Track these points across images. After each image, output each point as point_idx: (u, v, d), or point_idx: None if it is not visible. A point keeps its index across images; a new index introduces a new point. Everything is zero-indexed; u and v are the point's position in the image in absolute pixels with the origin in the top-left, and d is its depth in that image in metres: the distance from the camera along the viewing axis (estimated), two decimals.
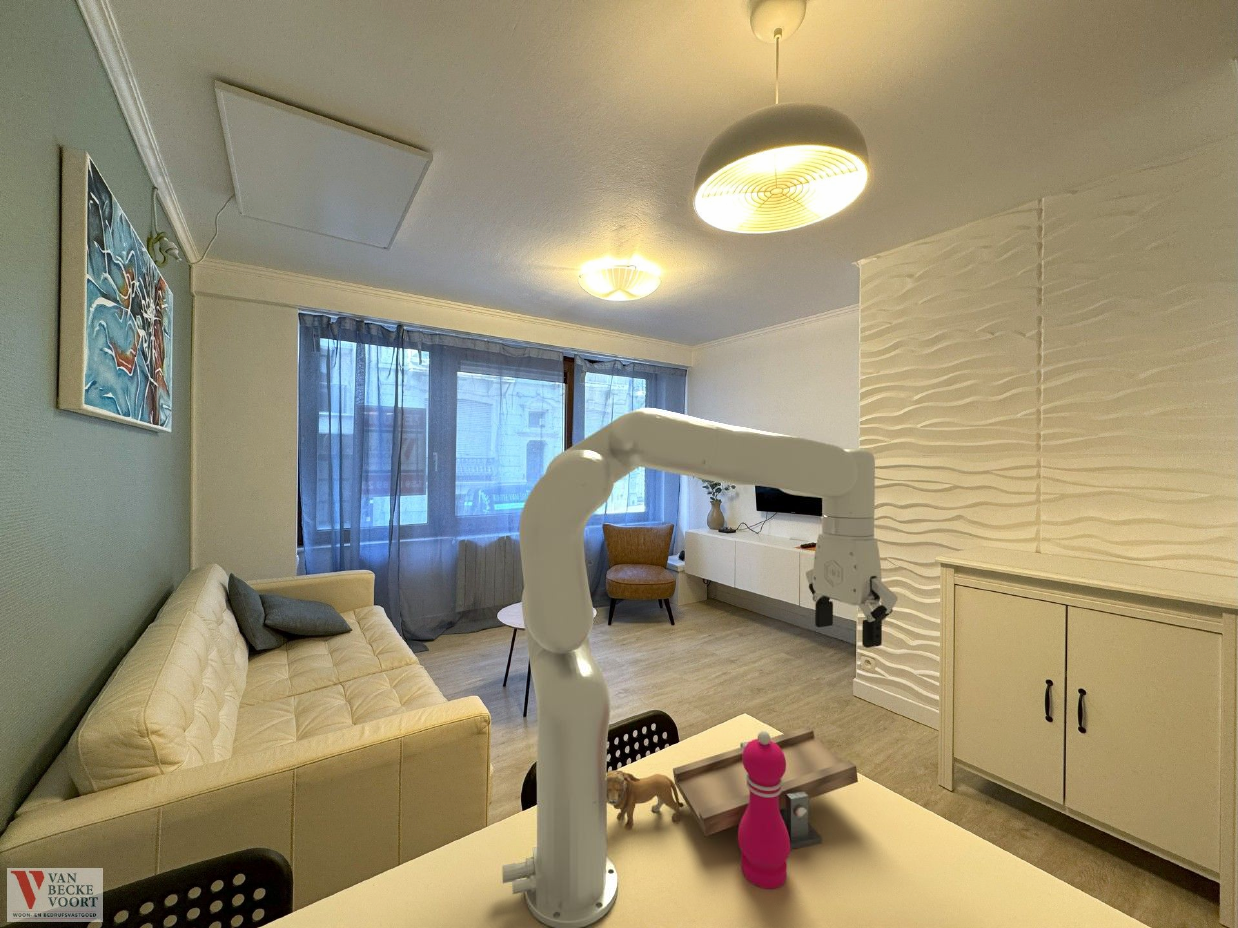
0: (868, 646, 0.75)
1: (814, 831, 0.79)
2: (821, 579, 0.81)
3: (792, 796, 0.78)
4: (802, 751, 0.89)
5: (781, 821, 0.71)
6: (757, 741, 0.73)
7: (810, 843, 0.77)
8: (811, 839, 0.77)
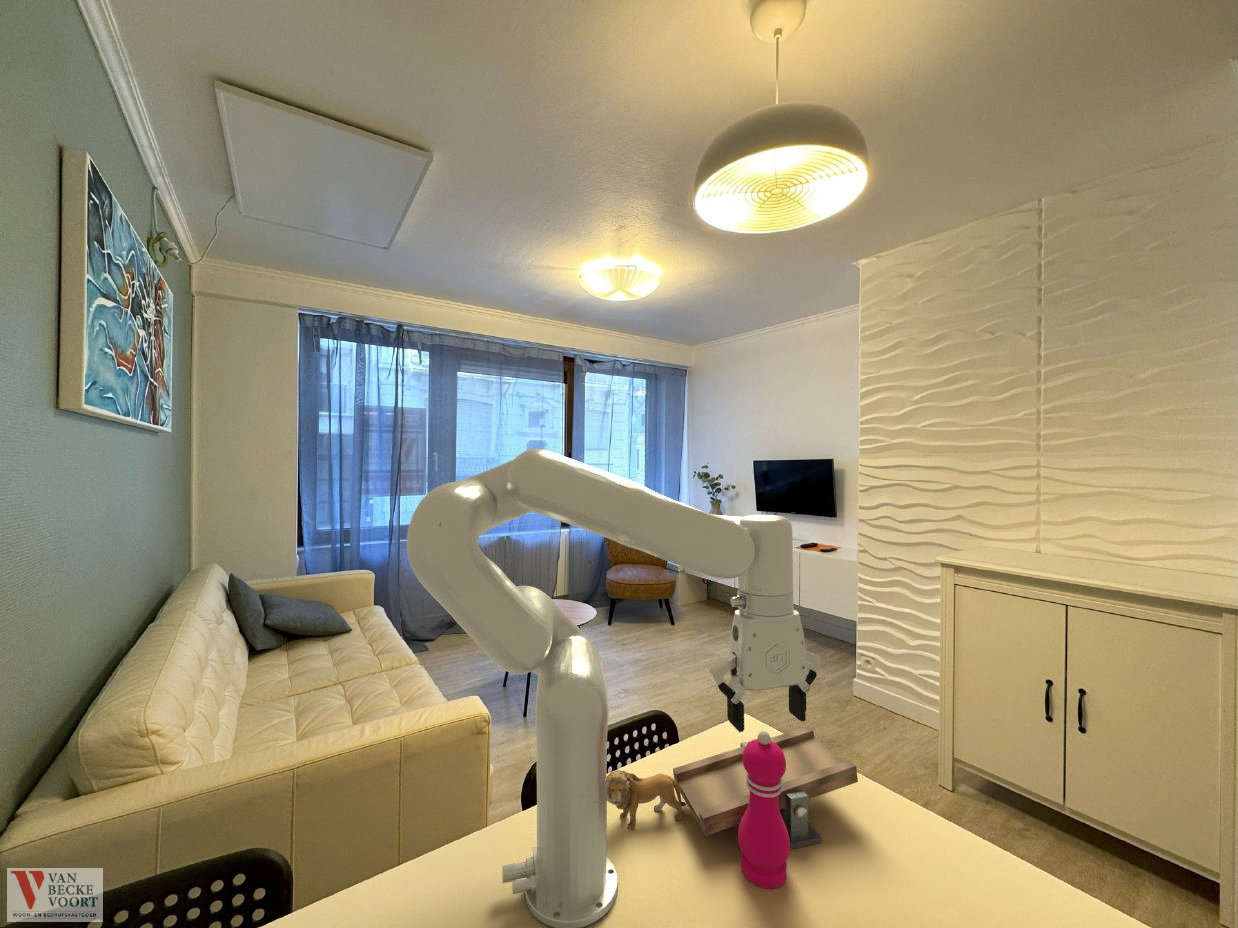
0: None
1: (814, 831, 0.79)
2: (760, 672, 0.69)
3: (792, 796, 0.78)
4: (802, 751, 0.89)
5: (781, 821, 0.71)
6: (757, 741, 0.73)
7: (810, 843, 0.77)
8: (811, 839, 0.77)
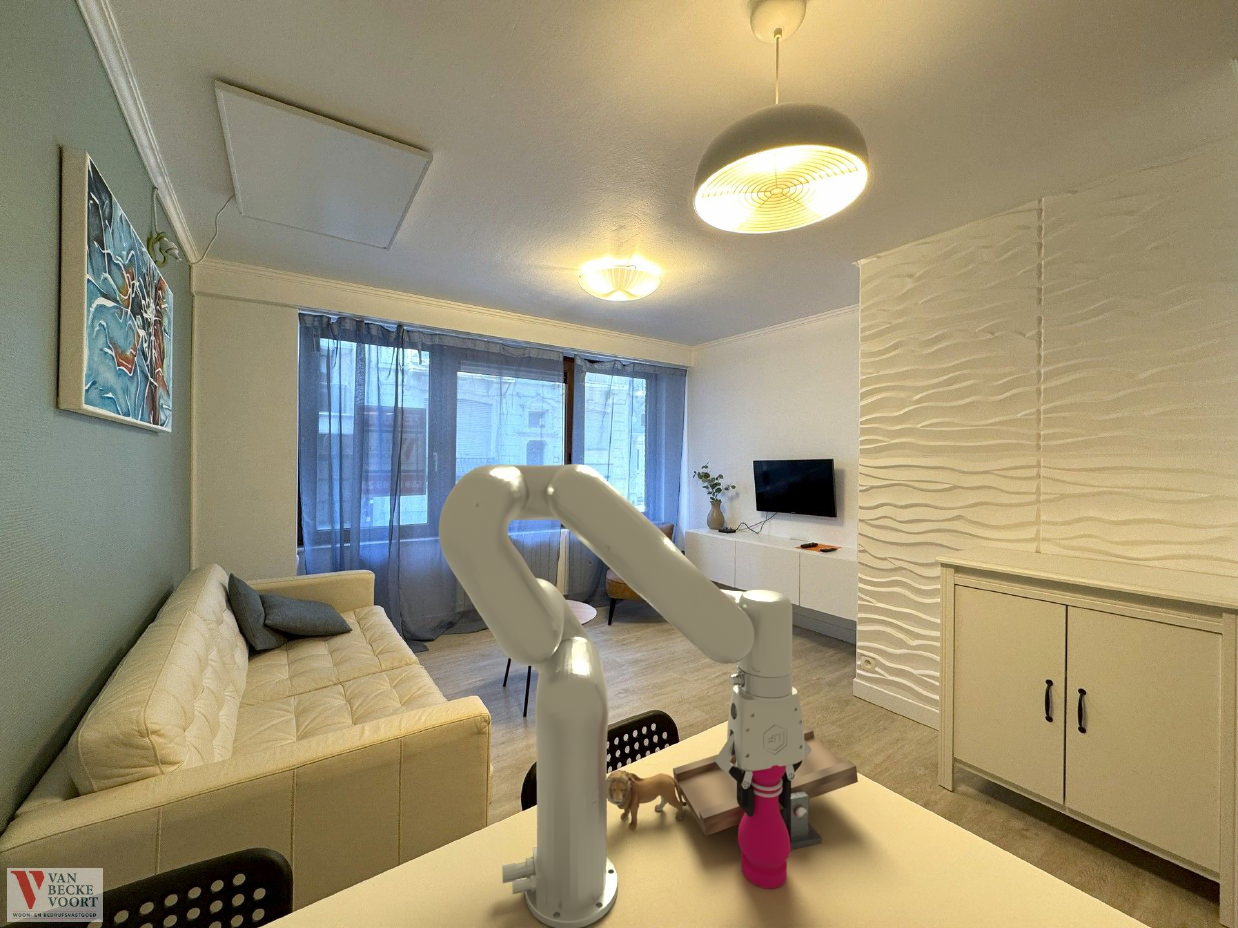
0: None
1: (814, 831, 0.79)
2: (758, 753, 0.69)
3: (792, 796, 0.78)
4: None
5: (781, 821, 0.71)
6: None
7: (810, 843, 0.77)
8: (811, 839, 0.77)
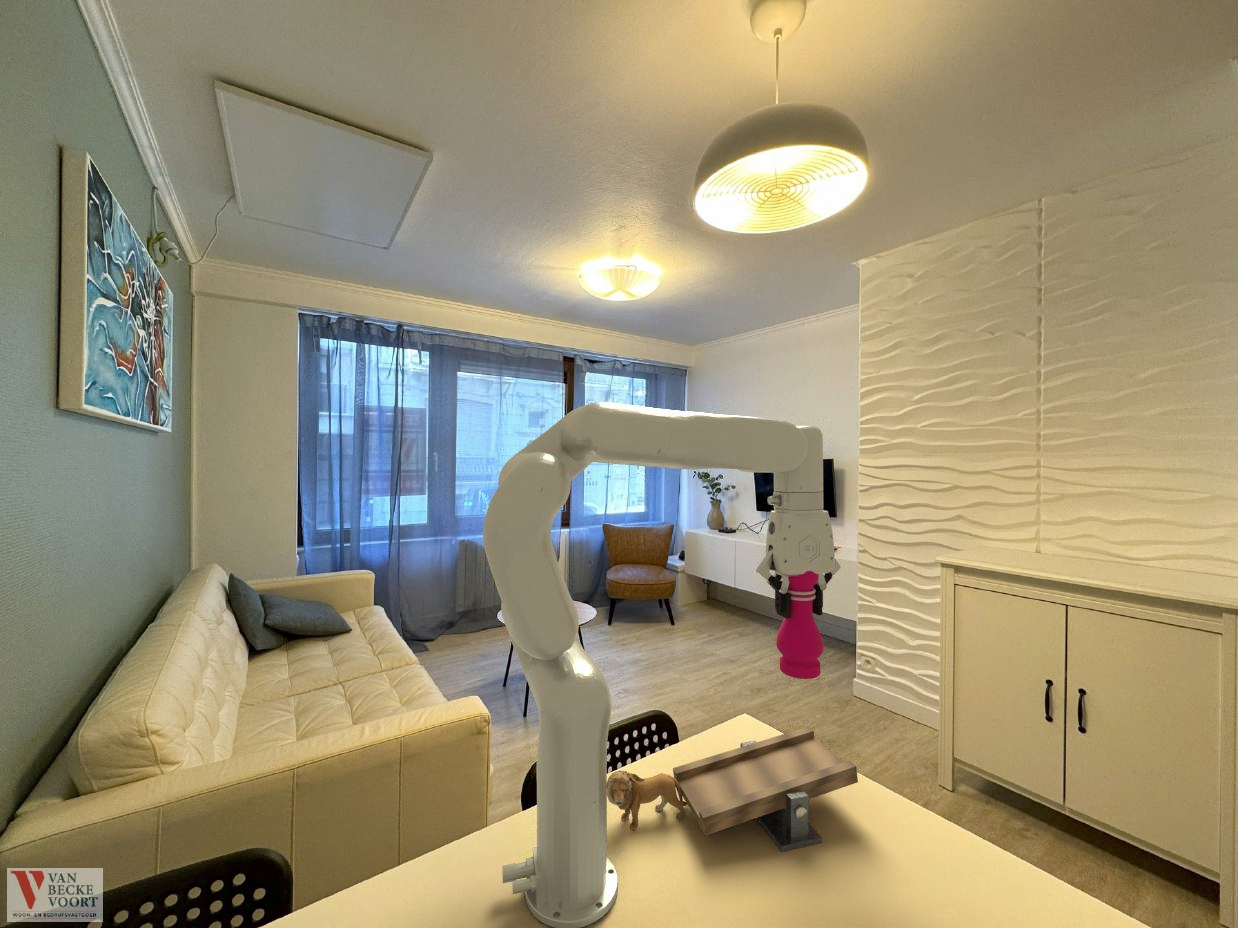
0: None
1: (814, 831, 0.79)
2: (794, 559, 0.79)
3: (792, 796, 0.78)
4: (802, 751, 0.89)
5: (815, 624, 0.81)
6: None
7: (810, 843, 0.77)
8: (811, 839, 0.77)
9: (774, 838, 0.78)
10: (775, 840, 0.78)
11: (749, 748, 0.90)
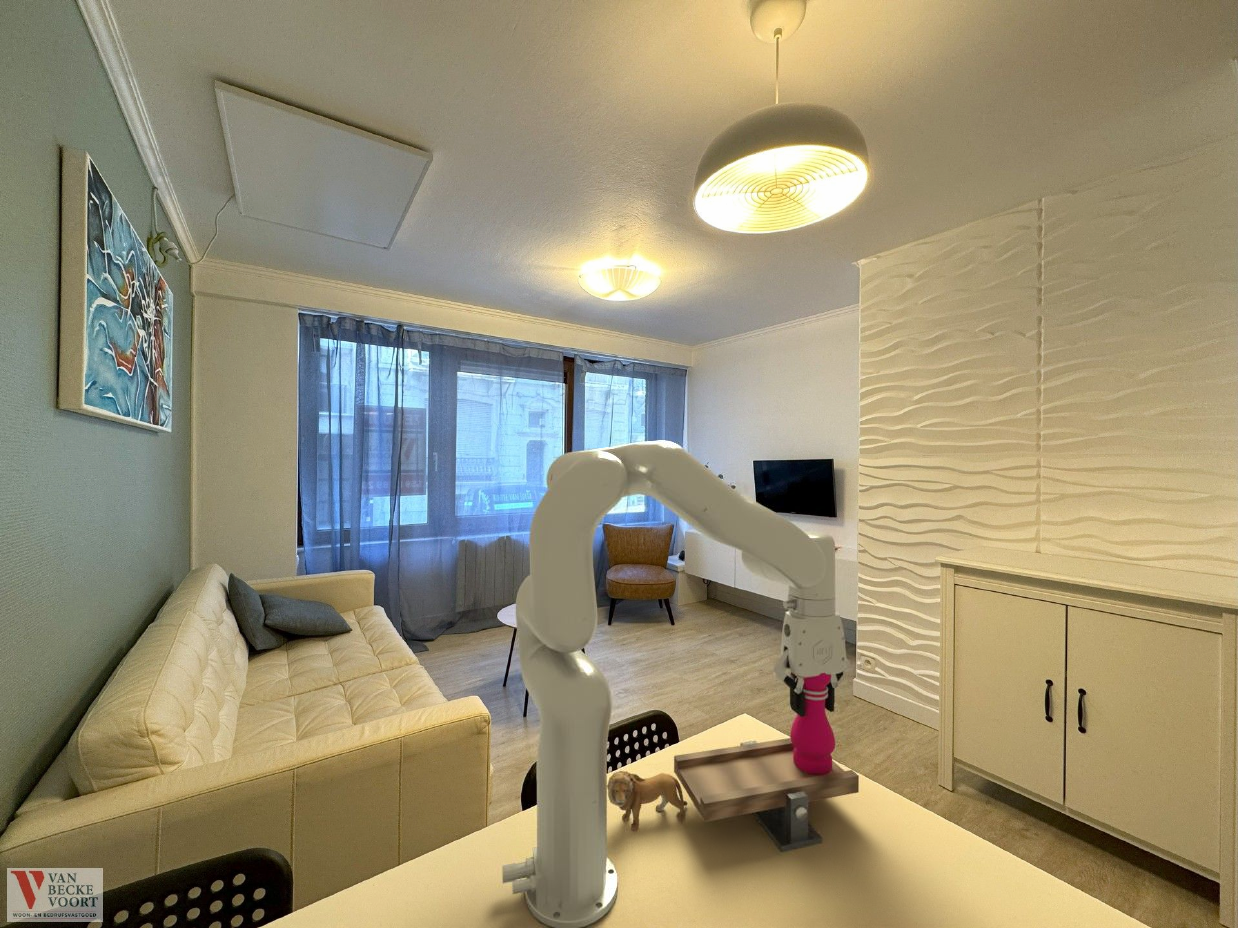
0: None
1: (814, 831, 0.79)
2: (809, 662, 0.84)
3: (792, 796, 0.78)
4: None
5: (827, 721, 0.86)
6: None
7: (810, 843, 0.77)
8: (811, 839, 0.77)
9: (774, 838, 0.78)
10: (775, 840, 0.78)
11: (751, 747, 0.90)
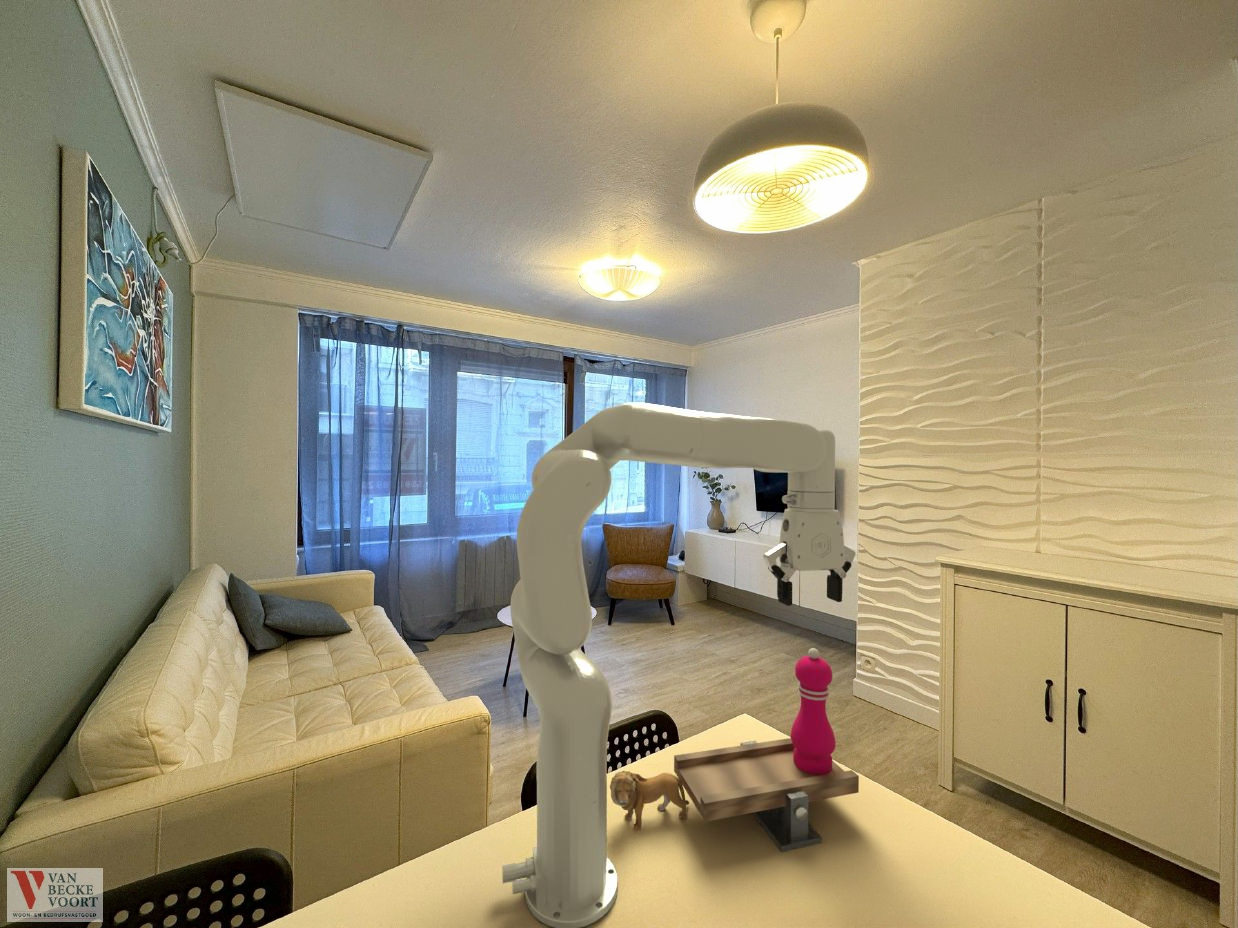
0: None
1: (814, 831, 0.79)
2: (807, 555, 0.83)
3: (792, 796, 0.78)
4: None
5: (828, 721, 0.86)
6: (807, 656, 0.87)
7: (810, 843, 0.77)
8: (811, 839, 0.77)
9: (774, 838, 0.78)
10: (775, 840, 0.78)
11: (751, 747, 0.90)
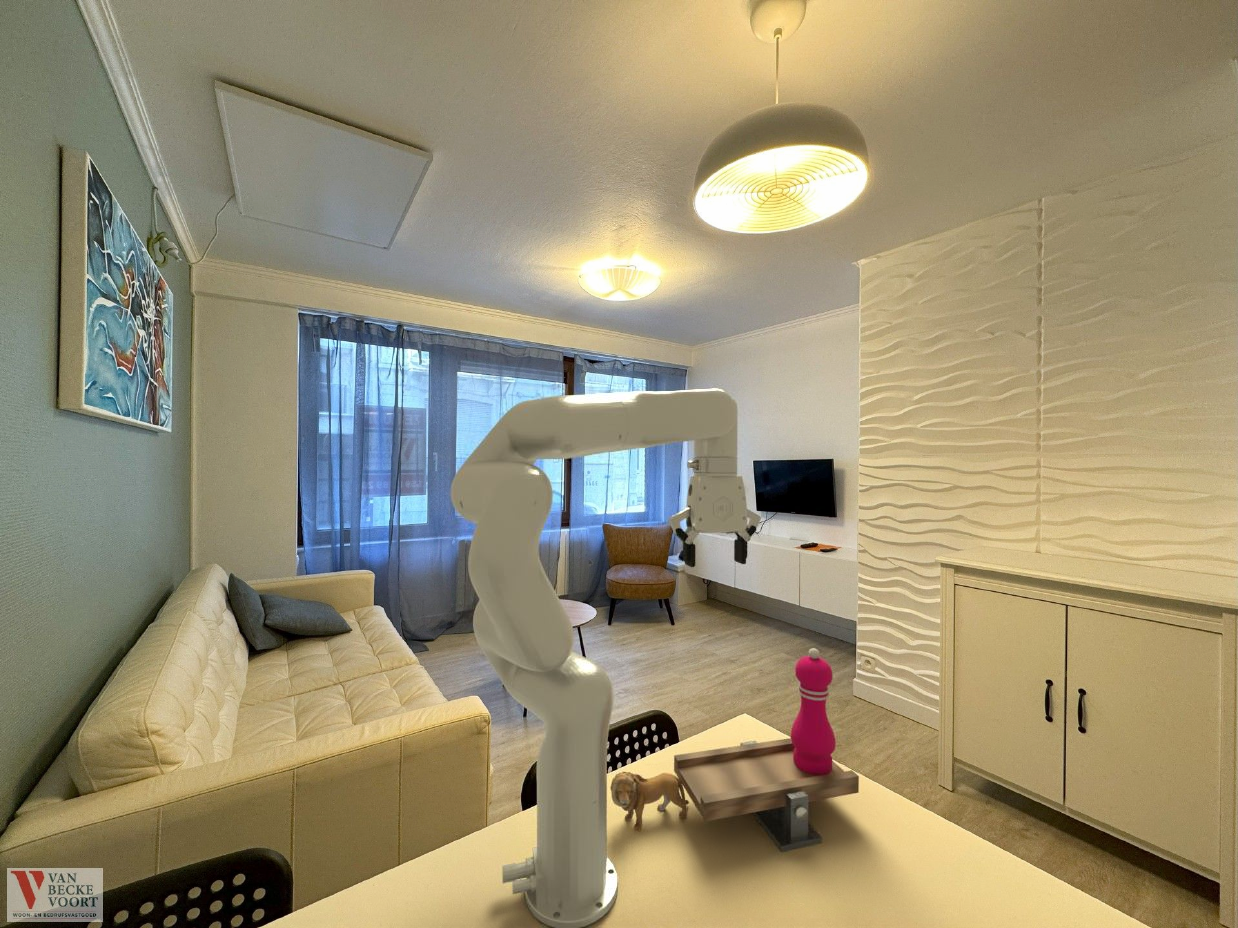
0: None
1: (814, 831, 0.79)
2: (708, 518, 0.86)
3: (792, 796, 0.78)
4: None
5: (828, 722, 0.86)
6: (808, 657, 0.87)
7: (810, 843, 0.77)
8: (811, 839, 0.77)
9: (774, 838, 0.78)
10: (775, 840, 0.78)
11: (751, 747, 0.90)
